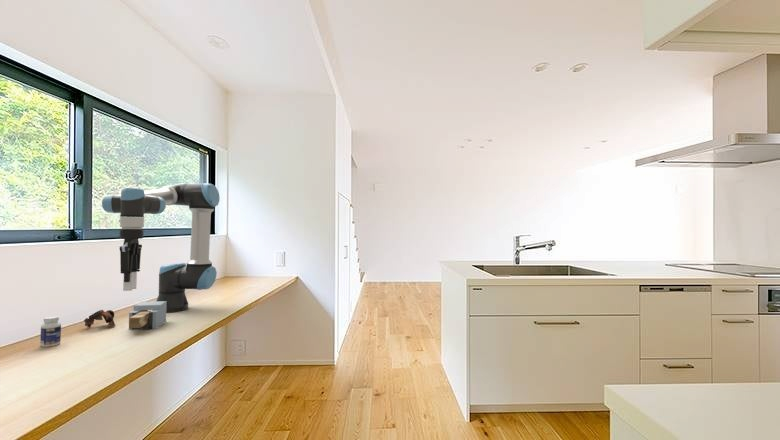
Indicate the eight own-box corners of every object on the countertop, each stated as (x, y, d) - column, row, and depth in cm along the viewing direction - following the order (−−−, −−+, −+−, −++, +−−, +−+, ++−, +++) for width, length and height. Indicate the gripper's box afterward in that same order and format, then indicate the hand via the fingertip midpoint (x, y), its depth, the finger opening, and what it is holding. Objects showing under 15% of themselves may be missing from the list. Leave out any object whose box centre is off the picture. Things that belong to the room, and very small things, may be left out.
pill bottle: (44, 348, 130) (45, 320, 130) (37, 345, 132) (38, 318, 132) (63, 343, 135) (64, 316, 135) (55, 341, 137) (56, 314, 137)
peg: (141, 320, 159) (142, 311, 159) (152, 320, 160) (152, 310, 160) (128, 328, 147) (128, 318, 147) (140, 327, 148) (140, 317, 148)
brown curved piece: (109, 331, 153) (96, 315, 151) (88, 341, 153) (75, 325, 151) (125, 316, 164) (114, 301, 162) (106, 325, 164) (94, 310, 162)
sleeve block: (141, 322, 166) (141, 301, 166) (166, 321, 168) (166, 301, 168) (128, 329, 153) (128, 307, 154) (155, 328, 156) (155, 307, 156)
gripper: (130, 227, 150) (128, 286, 150) (110, 228, 135) (107, 293, 134) (151, 228, 152) (149, 286, 152) (133, 228, 136) (131, 293, 136)
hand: (129, 289), depth 143 cm, fingers open, 3 cm apart
